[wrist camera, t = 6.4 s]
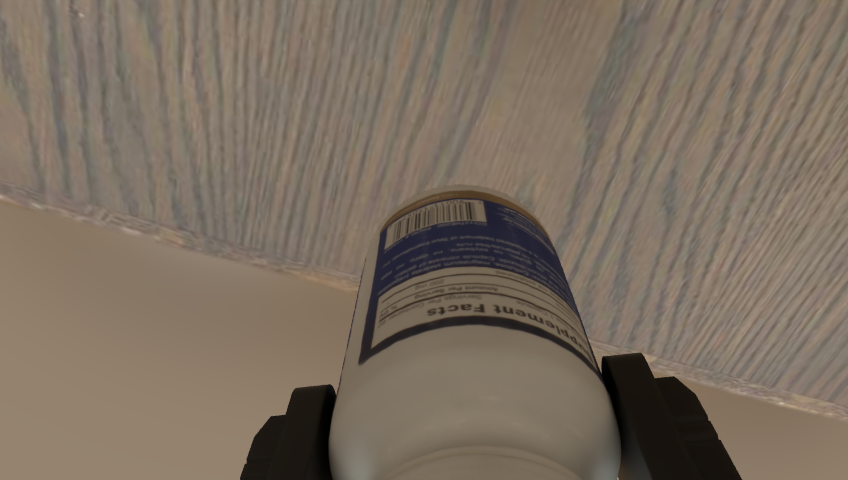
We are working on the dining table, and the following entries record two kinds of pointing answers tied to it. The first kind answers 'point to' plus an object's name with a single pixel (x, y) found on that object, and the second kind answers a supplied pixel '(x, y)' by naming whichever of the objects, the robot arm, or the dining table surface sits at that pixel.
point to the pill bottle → (469, 353)
